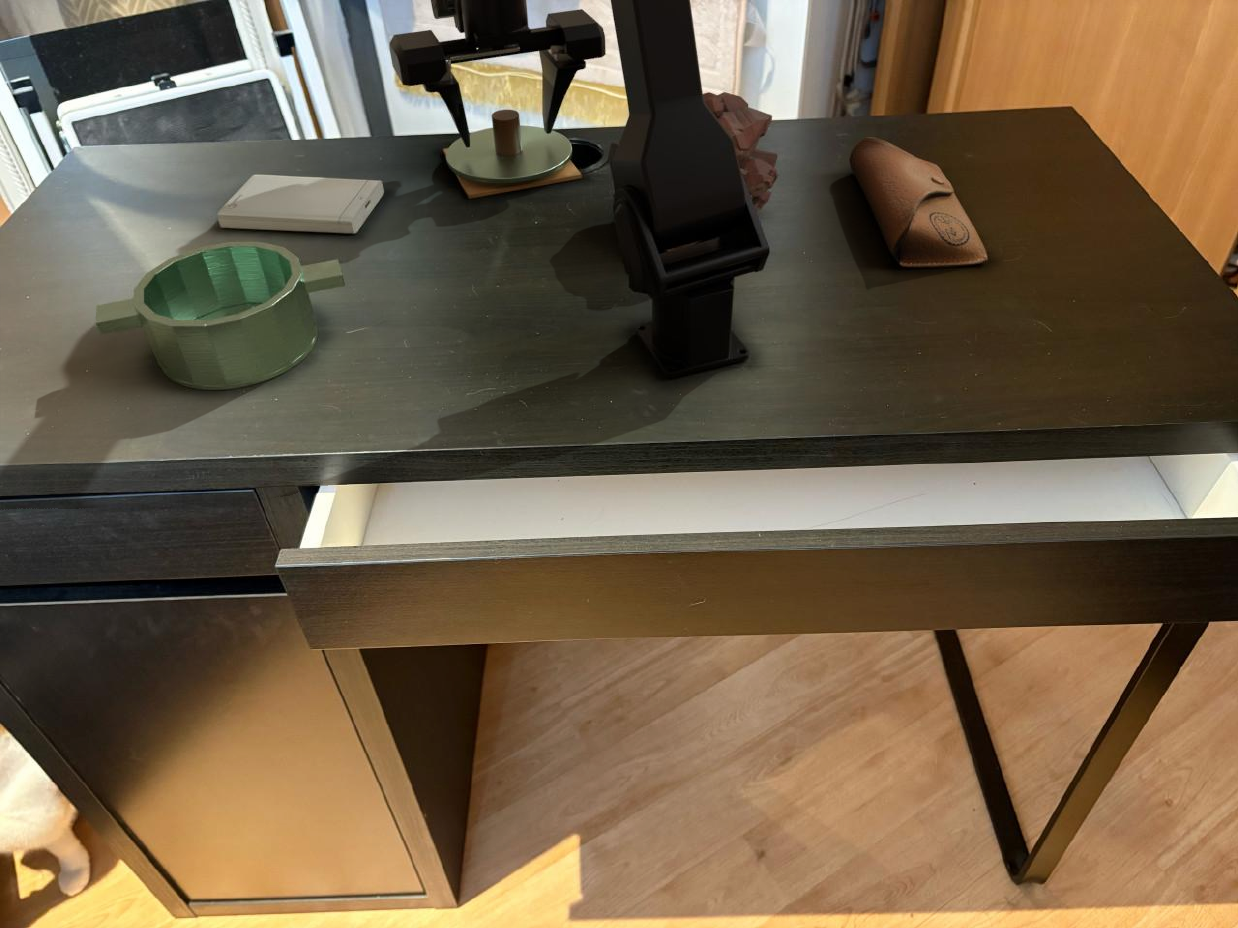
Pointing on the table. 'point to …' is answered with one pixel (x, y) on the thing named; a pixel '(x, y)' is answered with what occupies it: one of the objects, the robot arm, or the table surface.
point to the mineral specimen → (745, 144)
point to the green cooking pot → (226, 313)
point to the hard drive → (301, 204)
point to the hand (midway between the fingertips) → (507, 139)
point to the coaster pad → (484, 188)
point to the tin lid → (509, 152)
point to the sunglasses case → (915, 208)
